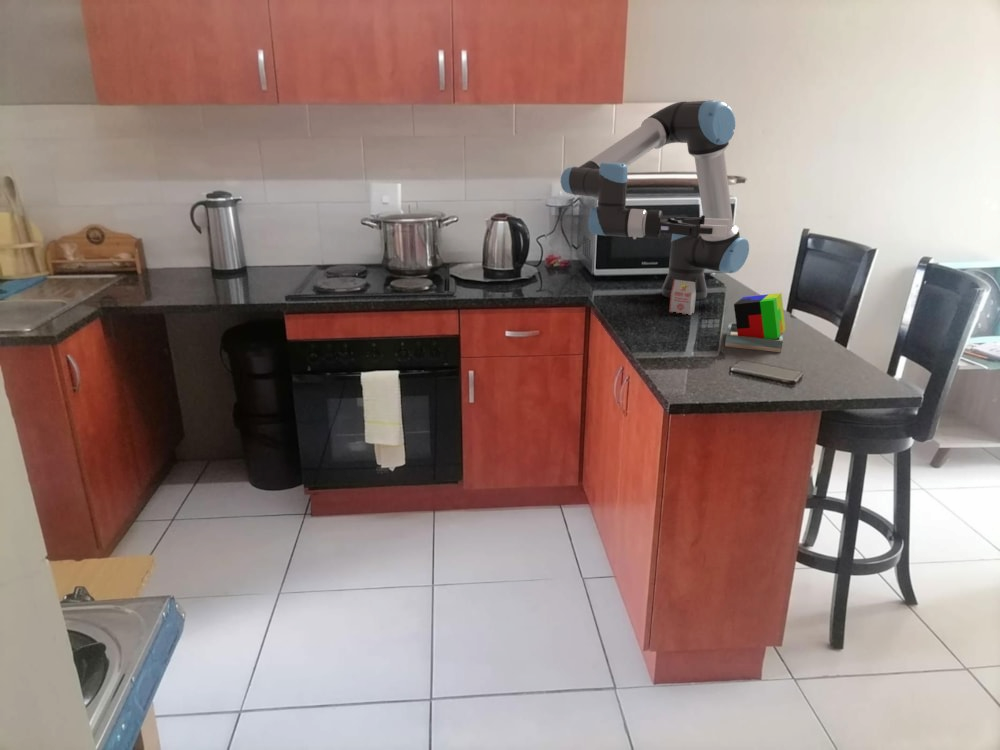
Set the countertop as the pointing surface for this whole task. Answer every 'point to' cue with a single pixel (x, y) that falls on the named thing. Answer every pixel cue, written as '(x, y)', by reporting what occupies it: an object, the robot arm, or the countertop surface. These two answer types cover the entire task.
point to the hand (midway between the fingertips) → (728, 227)
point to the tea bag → (683, 297)
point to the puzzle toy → (760, 316)
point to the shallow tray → (751, 341)
